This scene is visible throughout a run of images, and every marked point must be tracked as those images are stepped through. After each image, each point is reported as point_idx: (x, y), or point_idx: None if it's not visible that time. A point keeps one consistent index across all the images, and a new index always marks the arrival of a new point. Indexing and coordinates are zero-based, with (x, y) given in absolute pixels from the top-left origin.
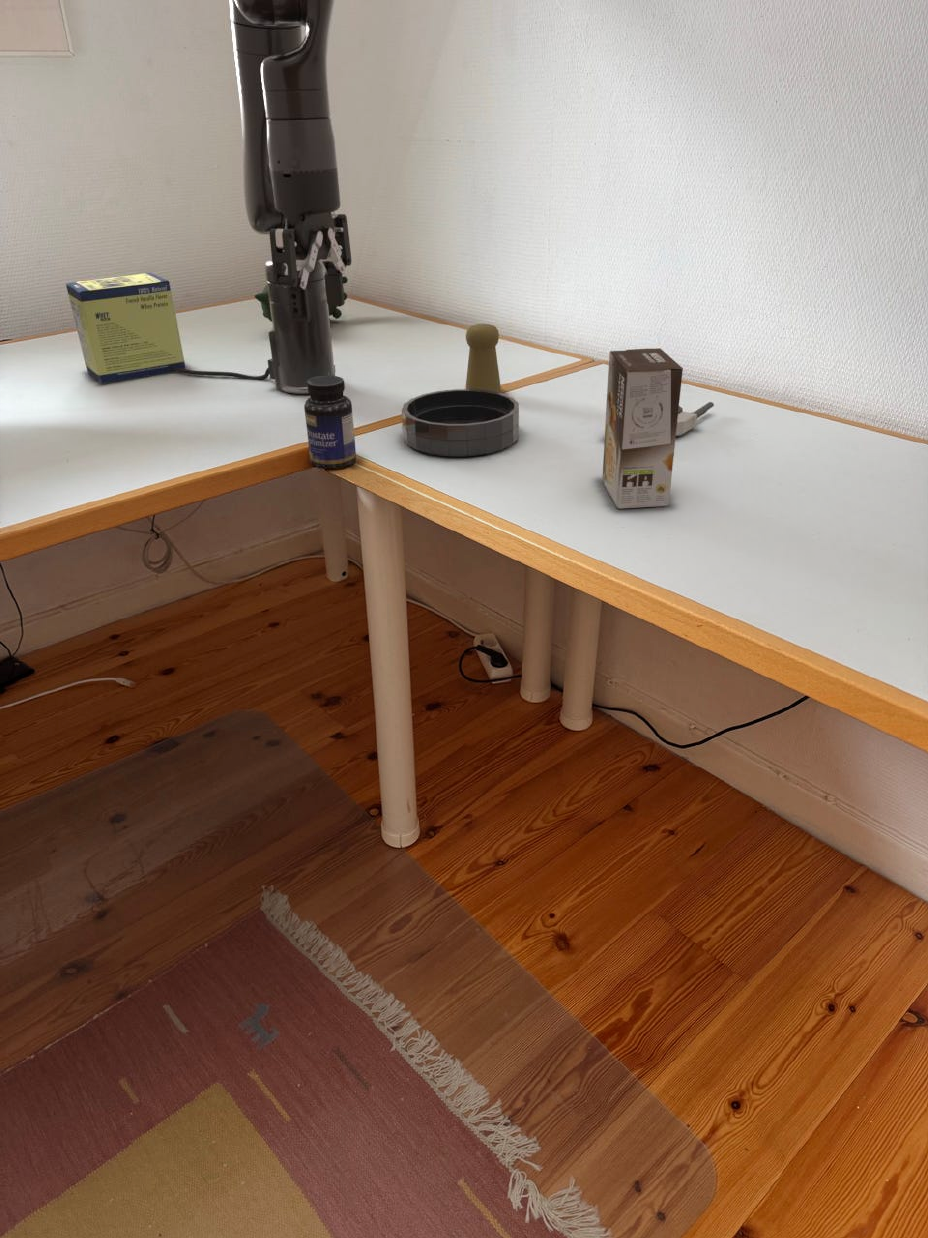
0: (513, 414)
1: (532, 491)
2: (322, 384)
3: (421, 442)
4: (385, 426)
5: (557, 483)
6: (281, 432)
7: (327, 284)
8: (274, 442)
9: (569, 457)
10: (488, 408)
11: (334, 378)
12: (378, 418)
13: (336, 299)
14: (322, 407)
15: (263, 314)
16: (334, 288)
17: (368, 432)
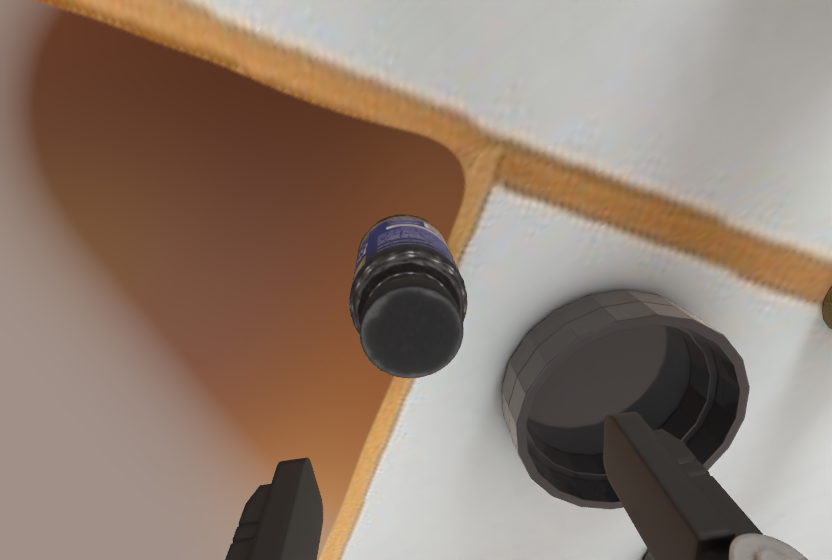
0: (614, 507)
1: (437, 546)
2: (377, 350)
3: (510, 380)
4: (624, 225)
5: (475, 557)
6: (514, 14)
7: (659, 500)
8: (447, 50)
9: (570, 535)
10: (702, 406)
11: (440, 343)
12: (671, 180)
13: (617, 473)
14: (359, 330)
15: None
16: (644, 516)
17: (580, 215)
